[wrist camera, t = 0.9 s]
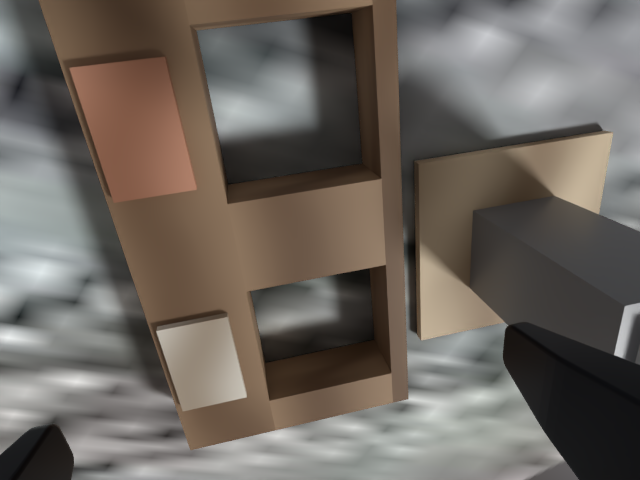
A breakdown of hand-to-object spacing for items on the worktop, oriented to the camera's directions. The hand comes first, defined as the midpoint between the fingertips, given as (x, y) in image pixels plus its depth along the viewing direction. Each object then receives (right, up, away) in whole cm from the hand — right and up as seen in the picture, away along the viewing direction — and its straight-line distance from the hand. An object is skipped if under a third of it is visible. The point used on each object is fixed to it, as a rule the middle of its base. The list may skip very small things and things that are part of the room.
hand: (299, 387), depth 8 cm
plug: (+9, +3, +11) cm, 15 cm away
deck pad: (+9, +3, +12) cm, 15 cm away
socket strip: (-2, +4, +9) cm, 10 cm away
